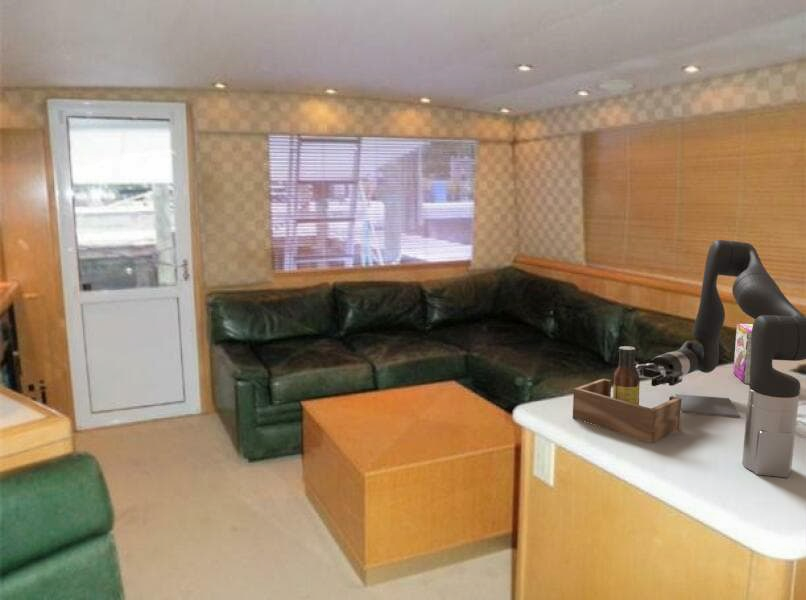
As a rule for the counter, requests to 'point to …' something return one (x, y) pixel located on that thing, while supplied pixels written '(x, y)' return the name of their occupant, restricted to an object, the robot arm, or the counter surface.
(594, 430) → the counter surface
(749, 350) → the candy bar box
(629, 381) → the sauce bottle
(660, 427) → the walnut crate
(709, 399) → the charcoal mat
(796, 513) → the counter surface
